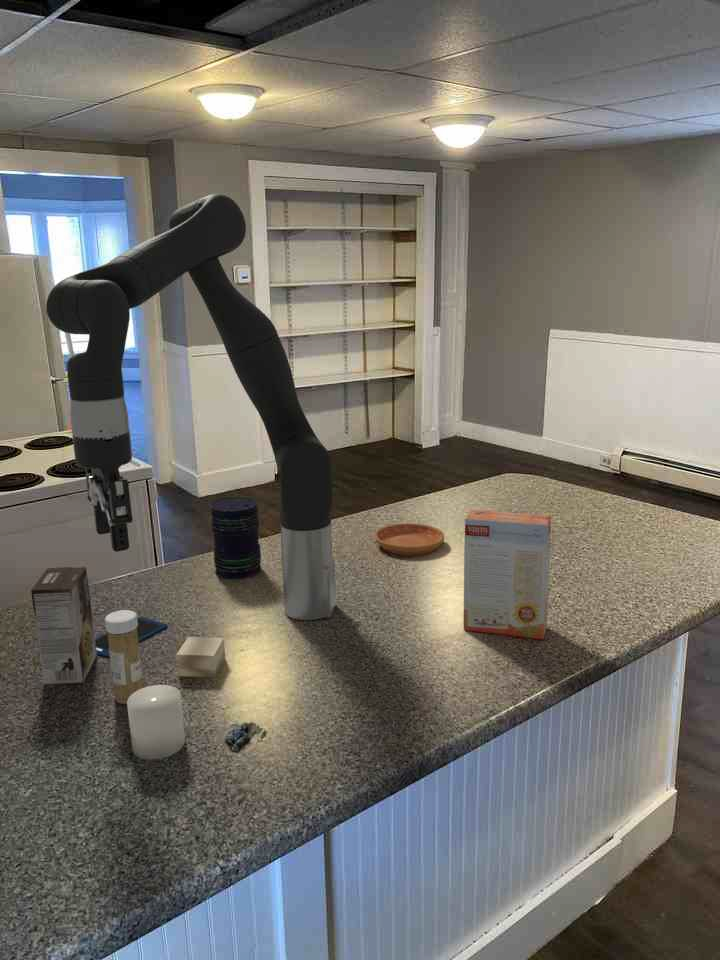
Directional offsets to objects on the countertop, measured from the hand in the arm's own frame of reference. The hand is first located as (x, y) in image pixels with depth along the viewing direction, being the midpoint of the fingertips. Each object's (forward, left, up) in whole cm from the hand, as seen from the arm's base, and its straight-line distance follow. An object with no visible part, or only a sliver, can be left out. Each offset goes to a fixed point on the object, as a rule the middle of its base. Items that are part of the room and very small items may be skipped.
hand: (112, 541), depth 112 cm
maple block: (-8, -10, -25) cm, 28 cm away
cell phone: (+9, -19, -26) cm, 33 cm away
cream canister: (-9, +11, -25) cm, 29 cm away
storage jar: (-2, -51, -25) cm, 57 cm away
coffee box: (+13, -7, -25) cm, 29 cm away
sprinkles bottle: (0, 0, -25) cm, 25 cm away
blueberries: (-20, +9, -26) cm, 34 cm away
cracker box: (-57, -29, -25) cm, 69 cm away
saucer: (-37, -70, -25) cm, 83 cm away
